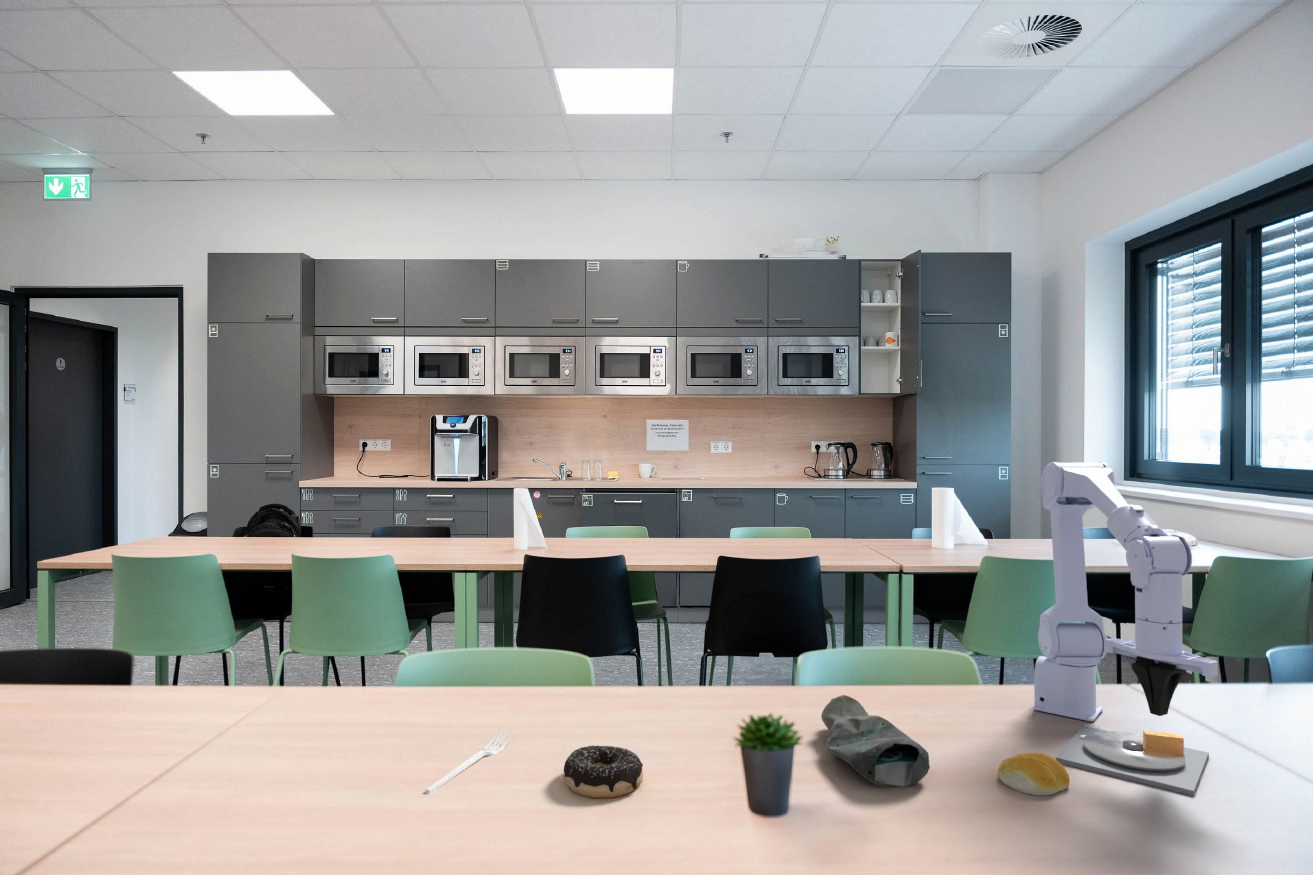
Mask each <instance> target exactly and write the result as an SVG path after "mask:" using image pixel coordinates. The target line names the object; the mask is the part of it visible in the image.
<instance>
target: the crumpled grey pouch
mask: <svg viewBox="0 0 1313 875" xmlns="http://www.w3.org/2000/svg"><path fill="white" fill-rule="evenodd" d="M820 715H821V720H822V722H823V723H824V726H826V728H827V730H828V733H827V736H826V749H827V751H829V752H830V753H832V754H833V755H834V756H836V757H838V758H839V759H841V760H842V761H845V763H848V764H849V765H850V766H851V767H852V768H853V769H855V771H857V772H858V773H859V775H860V776H862V777H864V778H865V779H866V780H867V781H869V782H870V783H872V784H874V785H876V786H878V787H882V788H900V787H904V786H905V787H909V786H911V785H916V784H917V783H918V782H920V781H922V780H923V779H924V778H925V776H927V775H928V772H929V770H930V769H931V767H930V756H929V752H928V751H927V749H926V748H924V747H923V746H922V745H921V744H920V743H918V742H916V741H915V740H914V739H912V738H911V737H910V736H908V735H907V734H906V733H904V732H903V731H902V730H900V729H899V728H898V727H896V726H895V725H894V724H893V723H891V722H890V721H889V720H887V719H885V718H883V717H882V716H879V715H871V714H870V715H869V713H868V711H866V709H865V708H864V706H863V705H862V704H861V703H860V702H859V701H858V700H857V699H855V698H853V697H851V696H848V695H845V694H842V695H839V696H836V697H834V698H831V699H830V701H829V702H828V703H827V704H826V705H825V707H824V708H823V710H822V712H821V714H820Z"/></svg>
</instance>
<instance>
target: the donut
mask: <svg viewBox="0 0 1313 875" xmlns="http://www.w3.org/2000/svg"><path fill="white" fill-rule="evenodd" d="M643 766H644V765H643V763H642V761H641V759H640V758H639V756H638V754H636V753H635V752H633V751H632V750H629V749H628V748H623V747H620V746H614V745H613V746H612V745H611V746H610V745H587V746H584V747H583V746H582V747H581V746H580V747H579V748H577V749H574V751H572V752H571V753H570V754H569V756H568V757H567V759H566V761H564V766H563V773H564V774H563V775H564V776H563V777H564V781H565V783H566V784H567V786H568V788H569V789H571V790H572V791H573V792H575V793H577V794H579V795H581V796H582V797H587V798H591V799H603V798H604V799H605V798H606V799H608V798H609V799H610V798H616V797H620V796H624V795H627V794H629V793H632V792H634V791H635V790H636V789H638V788H639V787H640V786H641V785H642V783H643V779H644V770H643Z"/></svg>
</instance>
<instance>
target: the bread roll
mask: <svg viewBox="0 0 1313 875" xmlns="http://www.w3.org/2000/svg"><path fill="white" fill-rule="evenodd" d="M997 776H998V777H997V778H999V780H1000V781H1001V783H1003V784H1004V785H1005V786H1007V787H1009V788H1011V789H1013V790H1016V791H1018V792H1020V793H1024V794H1027V795H1032V796H1051V795H1054V794H1056V793H1058V792H1062V791H1064V790H1066V789H1067V788H1069V786H1070V783H1071V780H1070V776H1069V773H1068V771H1067V769H1066V768H1065V766H1064V764H1061V763H1059V762H1058V761H1057V760H1056V758H1053V757H1052V756H1050V755H1048V754H1045V753H1040V752H1029V753H1028V752H1027V753H1020V754H1017V755H1014V756H1013V757H1009V758H1006V759H1004V760H1003V761H1001V762H1000V764H999V766H998V769H997Z"/></svg>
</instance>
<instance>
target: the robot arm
mask: <svg viewBox="0 0 1313 875" xmlns="http://www.w3.org/2000/svg"><path fill="white" fill-rule="evenodd" d="M1040 483H1041V484H1040V485H1041V486H1040V488H1041V499H1042V500H1041V501H1042V507H1043V508H1044V509H1045V510H1048V511H1049V512H1050V523H1051V524H1050V528H1051V540H1052V542H1051V543H1052V559H1053V560H1052V561H1053V572H1054V573H1053V575H1054V576H1053V577H1054V591H1055V592H1054V593H1055V594H1054V595H1055V603H1054V604H1053V605H1052V606H1050V607H1049V608H1048V609H1047V610H1045V611H1043V612H1042V613H1041V614H1040V616H1039V617H1040V618H1039V629H1038V633H1037V641H1038V643H1037V644H1038V647H1039V649H1040V652H1041V653H1042V655H1039V656H1038V657H1037V659H1036V661H1035V665H1034V673H1033V674H1034V675H1033V676H1034V677H1033V678H1034V679H1033V680H1034V686H1033V688H1034V691H1033V692H1034V702H1033V703H1034V705H1033V710H1034V711H1039V712H1042V713H1043V712H1044V713H1047V714H1048V713H1049V714H1054V715H1057V716H1062V717H1066V718H1067V717H1068V718H1073V719H1075V720H1076V719H1077V720H1083V721H1087V722H1094V721H1095V720H1096V719H1097V717H1098V716H1099V715H1100V714H1101V713H1102V711H1103V710H1104V708H1103V707H1101V706H1098V705H1097V665H1100V664H1101V660H1102V659H1104V658H1105V657H1106V655H1107V653H1109V654H1118V655H1122V656H1127V657H1131V658H1134V659H1136V660H1135V662H1133V663H1131V669H1132V671H1133V673H1134V674H1135V676H1136V677H1137V679H1138V681H1139V684H1140V686H1141V688H1142V690H1143V693H1144V695H1145V698H1146V702H1147V705H1148V710H1149V713H1150V714H1151V715H1154V716H1158V717H1162V716H1166V715H1168V714H1169V709H1170V705H1171V702H1172V699H1173V696H1174V695H1175V694H1174V693H1175V691H1176V689H1177V687H1178V686H1179V684H1180V682H1181V680H1182V679H1183V677H1184V676H1185V674H1186V673H1187V671H1188V672H1192V673H1196V674H1200V675H1202V676H1204V677H1206V678H1212V677H1216V676H1218V674H1219V673H1218V670H1219V669H1218V667H1219V666H1218V665H1219V664H1218V661H1217V660H1213V659H1209V658H1205V657H1203V656H1199V655H1197V654H1194V653H1191V652H1188V651H1184V650H1183V576H1186V575H1187V574H1188V573H1189V572H1190V571H1191V568H1192V564H1193V554H1192V550H1191V547H1190V545H1189V543H1188V542H1187V540H1186V539H1185V537H1184V536H1182V535H1180V534H1172V533H1171V532H1165V531H1164V530H1163V528H1161V527H1160V525H1159V524H1158V523H1156V522H1155V520H1154V519H1153V518H1152V517H1151V516H1150V515H1149V514H1148V513H1147V511H1146V510H1145V509H1144V508H1143V506H1142V505H1136V504H1129V503H1128V501H1126V499H1125V497H1123V495H1122V494H1121V492H1120V491H1119V490H1118V488H1117V487H1116V486H1115V474H1114V471H1113V469H1112V468H1111V467H1110V466H1109V465H1108V463H1106V462H1105V461H1098V462H1056V461H1051V462H1048V463H1047V464H1046V465H1045V467H1044V469H1043V472H1042V474H1041V476H1040ZM1094 508H1097V509H1098V510H1099V511H1100V512H1101V513H1102V514H1103V515H1104V516H1106V517H1107V519H1106V520H1107V521H1106V527H1107V530H1108V531H1109V532H1110V533H1111V535H1112V536H1113V537H1114V539H1116V541H1117V542H1118V543H1119V544H1120V545H1121V546H1122V548H1123V549H1124V550H1125V551H1126V552H1125V559H1126V564H1127V566H1128V569H1129V572H1130V582H1131V585H1132V586H1133V587H1135V588H1134V596H1135V597H1134V605H1135V606H1134V608H1135V609H1134V612H1135V614H1134V615H1135V617H1134V618H1135V619H1134V622H1135V623H1134V624H1135V626H1134V627H1135V628H1134V629H1135V631H1134V632H1135V633H1134V634H1135V636H1134V638H1135V639H1134V640H1135V641H1132V640H1126V639H1121V638H1115V637H1112V638H1108V635H1107V632H1106V630H1105V625H1104V624H1105V623H1104V619H1103V617H1102V616H1101V615H1100V614H1099V613H1098V612H1096V611H1095V610H1094V609H1092V608H1091V607H1089V603H1088V602H1089V601H1088V589H1087V573H1086V572H1087V571H1086V570H1087V569H1086V558H1085V555H1086V554H1085V540H1084V539H1085V538H1084V525H1083V516H1084V515H1085V513H1087V512H1088V511H1089V510H1091V509H1094ZM1069 622H1070V623H1069ZM1076 622H1077V623H1076ZM1079 622H1082V623H1079ZM1083 622H1084V623H1083Z"/></svg>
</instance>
